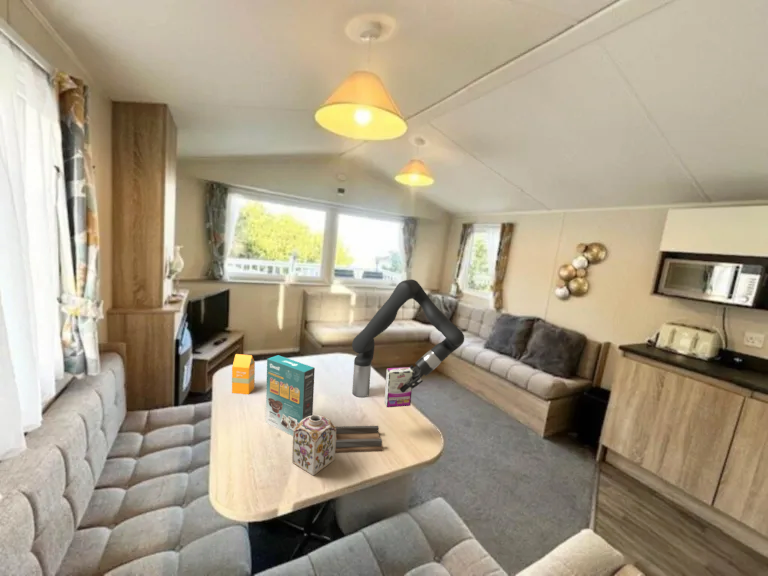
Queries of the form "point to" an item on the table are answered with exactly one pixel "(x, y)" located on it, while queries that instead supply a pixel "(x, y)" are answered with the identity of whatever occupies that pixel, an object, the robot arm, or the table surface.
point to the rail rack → (357, 439)
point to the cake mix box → (288, 393)
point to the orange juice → (243, 374)
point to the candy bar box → (397, 387)
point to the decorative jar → (314, 443)
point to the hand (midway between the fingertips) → (399, 387)
